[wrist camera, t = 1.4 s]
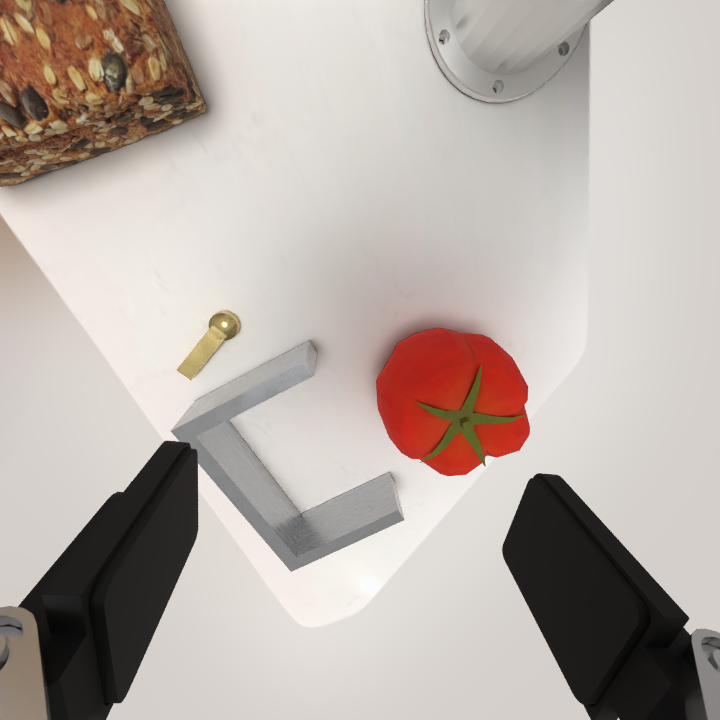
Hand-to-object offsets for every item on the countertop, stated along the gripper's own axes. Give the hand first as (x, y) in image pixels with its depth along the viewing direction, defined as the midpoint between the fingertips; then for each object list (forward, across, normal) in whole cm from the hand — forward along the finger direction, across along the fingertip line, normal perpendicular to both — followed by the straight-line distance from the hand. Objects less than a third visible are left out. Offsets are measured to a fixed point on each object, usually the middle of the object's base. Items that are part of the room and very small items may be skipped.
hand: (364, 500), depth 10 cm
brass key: (+26, +13, +6) cm, 29 cm away
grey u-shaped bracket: (+25, +2, +15) cm, 30 cm away
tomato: (+26, -11, +6) cm, 29 cm away
